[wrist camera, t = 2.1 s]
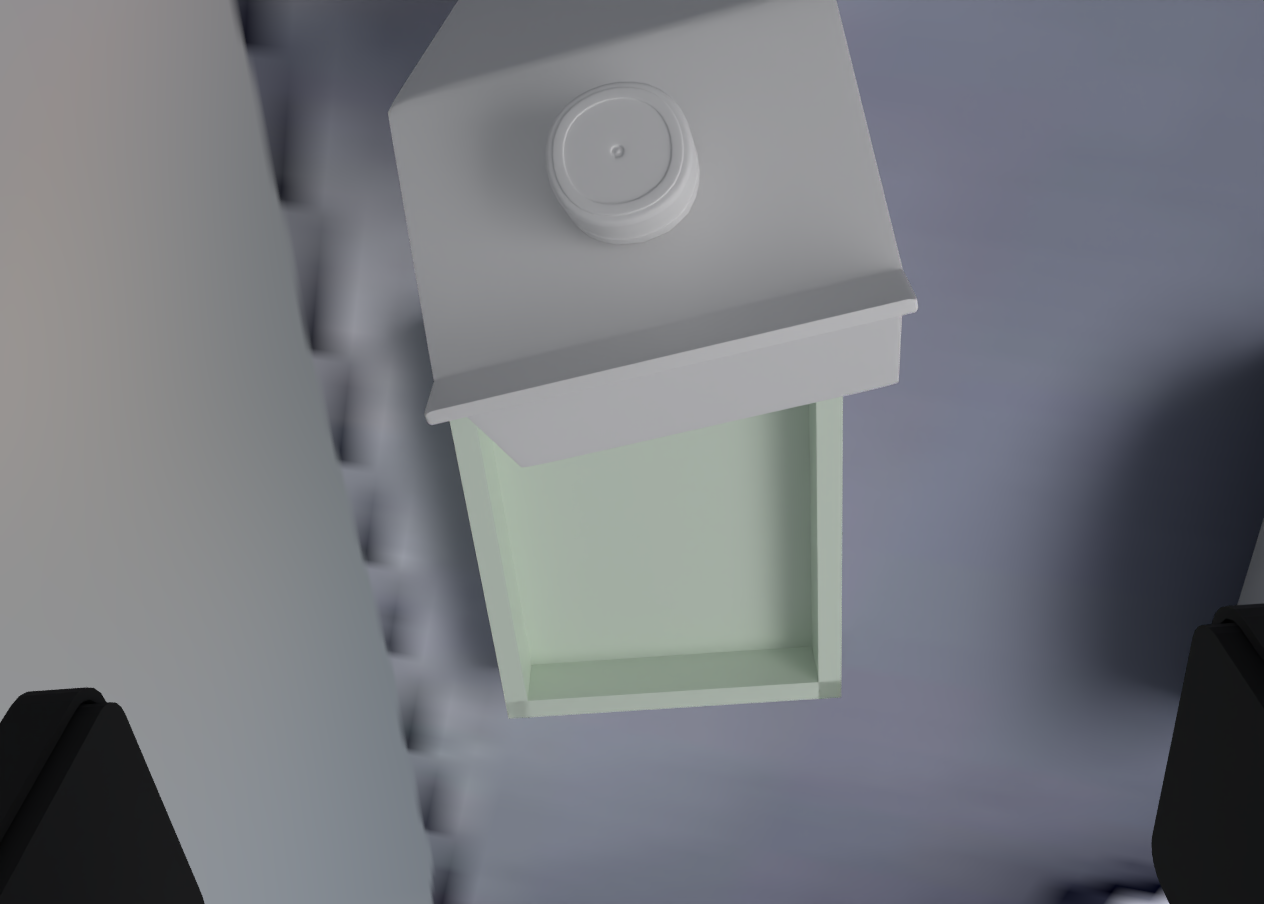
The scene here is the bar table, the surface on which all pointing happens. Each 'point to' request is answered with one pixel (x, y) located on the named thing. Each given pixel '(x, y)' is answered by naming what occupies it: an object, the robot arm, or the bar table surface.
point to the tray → (664, 566)
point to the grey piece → (1255, 575)
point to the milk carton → (643, 219)
